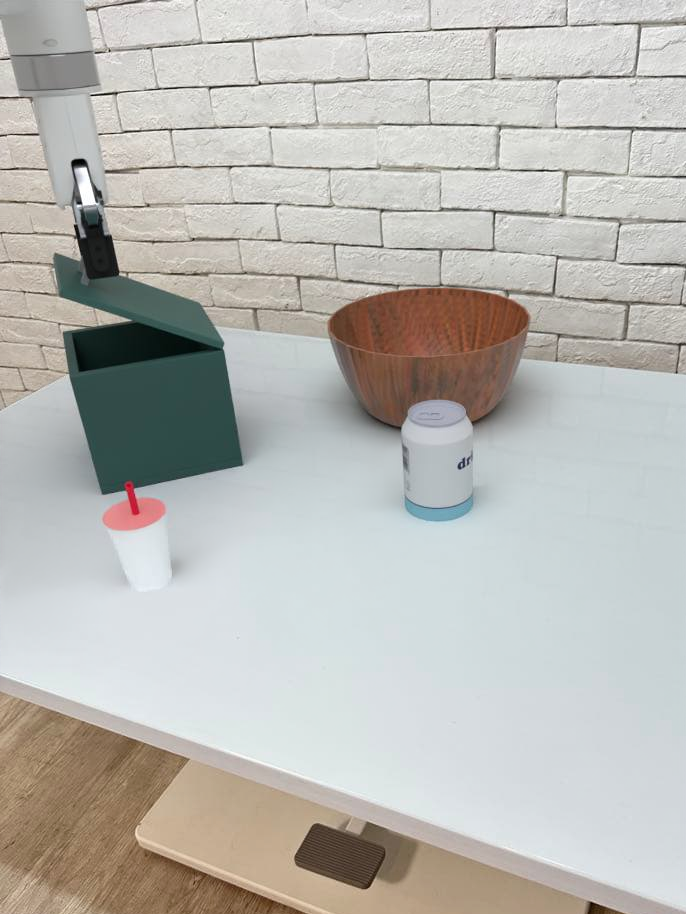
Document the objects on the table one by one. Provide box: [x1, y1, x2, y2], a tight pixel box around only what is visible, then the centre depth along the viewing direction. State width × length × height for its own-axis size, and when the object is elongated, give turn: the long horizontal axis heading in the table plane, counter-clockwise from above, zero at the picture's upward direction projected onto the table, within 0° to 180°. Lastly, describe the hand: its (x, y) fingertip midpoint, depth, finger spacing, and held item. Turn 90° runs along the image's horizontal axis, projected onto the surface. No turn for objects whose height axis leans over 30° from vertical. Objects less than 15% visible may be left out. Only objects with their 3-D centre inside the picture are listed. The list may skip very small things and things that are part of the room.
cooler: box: [62, 320, 244, 495], centre depth 99 cm, size 16×15×14 cm
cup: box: [101, 482, 173, 593], centre depth 76 cm, size 5×5×12 cm
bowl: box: [326, 287, 532, 428], centre depth 108 cm, size 25×25×11 cm
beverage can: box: [400, 400, 474, 523], centre depth 84 cm, size 7×7×12 cm
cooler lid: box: [52, 252, 225, 350], centre depth 92 cm, size 17×15×6 cm
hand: (100, 267), depth 90 cm, fingers closed on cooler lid, 6 cm apart
